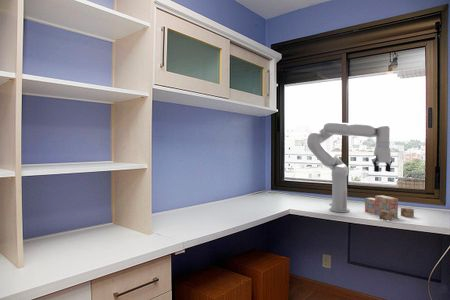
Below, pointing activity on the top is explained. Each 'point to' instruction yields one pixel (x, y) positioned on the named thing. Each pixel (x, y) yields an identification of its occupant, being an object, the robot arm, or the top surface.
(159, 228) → the top surface
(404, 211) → the marked walnut cube
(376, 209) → the stack of blocks
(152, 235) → the top surface
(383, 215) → the marked walnut cube
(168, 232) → the top surface
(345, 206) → the robot arm
